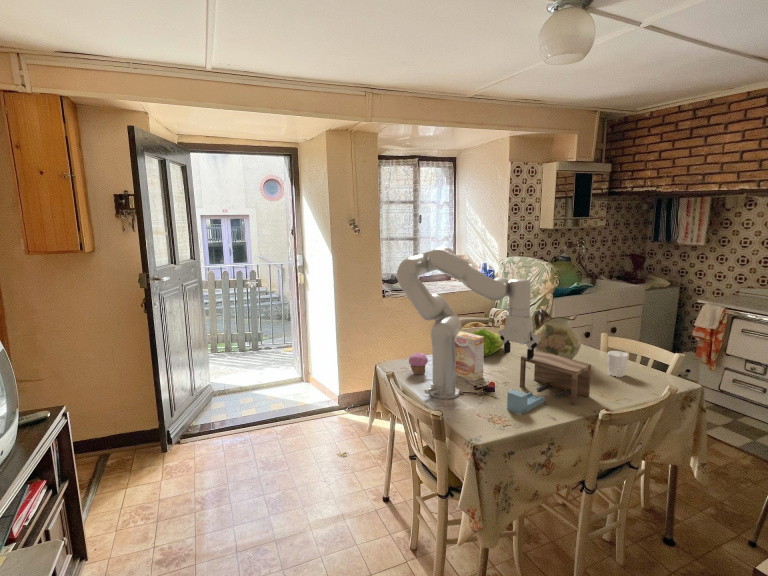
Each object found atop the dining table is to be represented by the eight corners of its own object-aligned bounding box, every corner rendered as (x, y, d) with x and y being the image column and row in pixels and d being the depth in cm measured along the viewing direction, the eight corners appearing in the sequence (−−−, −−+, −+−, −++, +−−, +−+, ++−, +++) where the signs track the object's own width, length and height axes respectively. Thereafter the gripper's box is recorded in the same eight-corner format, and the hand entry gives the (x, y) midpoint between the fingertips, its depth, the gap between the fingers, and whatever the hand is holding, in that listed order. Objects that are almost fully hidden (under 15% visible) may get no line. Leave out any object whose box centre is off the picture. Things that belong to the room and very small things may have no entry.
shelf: (574, 405, 160) (576, 372, 158) (519, 386, 179) (520, 356, 176) (589, 396, 168) (591, 364, 165) (535, 379, 186) (536, 350, 184)
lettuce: (490, 345, 239) (513, 354, 228) (464, 352, 223) (487, 361, 212) (494, 321, 236) (517, 328, 225) (467, 326, 220) (491, 334, 209)
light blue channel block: (520, 415, 154) (521, 397, 153) (507, 409, 158) (507, 392, 157) (544, 402, 164) (545, 385, 162) (530, 397, 168) (531, 381, 167)
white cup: (621, 379, 184) (623, 357, 182) (603, 374, 190) (604, 353, 188) (629, 374, 189) (630, 353, 187) (610, 370, 195) (612, 349, 193)
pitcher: (577, 372, 193) (580, 319, 189) (524, 364, 205) (526, 314, 201) (581, 358, 212) (584, 310, 208) (533, 351, 224) (535, 306, 220)
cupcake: (430, 371, 198) (430, 351, 196) (423, 378, 190) (423, 357, 189) (413, 369, 202) (413, 349, 200) (405, 375, 194) (405, 354, 193)
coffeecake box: (448, 373, 196) (448, 333, 193) (457, 369, 201) (457, 329, 197) (474, 381, 185) (475, 339, 182) (483, 377, 190) (484, 336, 187)
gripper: (493, 310, 160) (493, 353, 163) (535, 317, 147) (534, 363, 150) (504, 307, 165) (504, 348, 167) (546, 313, 152) (544, 358, 155)
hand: (518, 355), depth 159 cm, fingers open, 9 cm apart
